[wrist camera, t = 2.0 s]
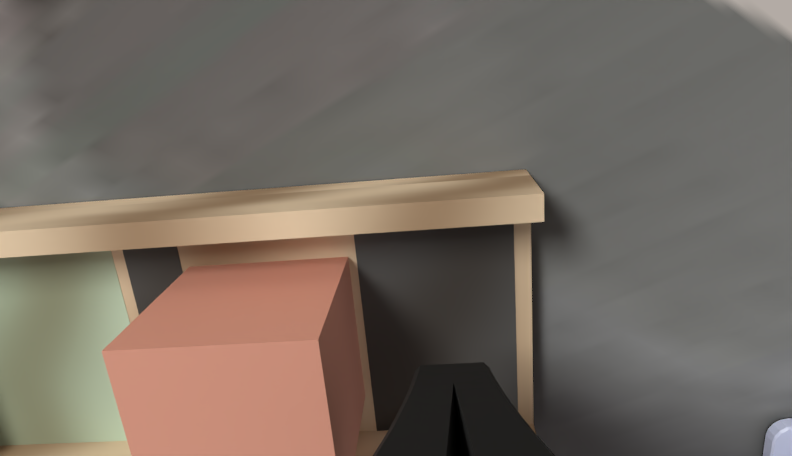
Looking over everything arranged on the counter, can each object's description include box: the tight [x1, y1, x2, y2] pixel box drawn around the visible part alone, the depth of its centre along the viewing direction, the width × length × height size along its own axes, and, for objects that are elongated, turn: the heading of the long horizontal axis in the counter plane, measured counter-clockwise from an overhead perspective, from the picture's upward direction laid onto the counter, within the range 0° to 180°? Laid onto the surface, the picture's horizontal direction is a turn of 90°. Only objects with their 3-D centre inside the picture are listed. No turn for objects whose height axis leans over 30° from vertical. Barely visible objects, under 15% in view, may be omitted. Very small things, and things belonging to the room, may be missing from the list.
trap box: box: [0, 169, 544, 456], centre depth 14 cm, size 16×7×2 cm, turn 95°
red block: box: [102, 257, 365, 456], centre depth 13 cm, size 4×4×4 cm
